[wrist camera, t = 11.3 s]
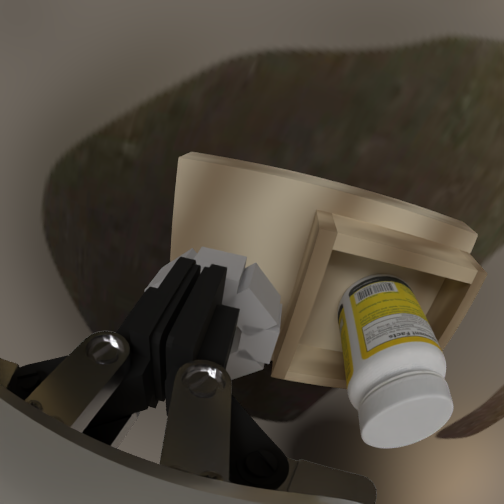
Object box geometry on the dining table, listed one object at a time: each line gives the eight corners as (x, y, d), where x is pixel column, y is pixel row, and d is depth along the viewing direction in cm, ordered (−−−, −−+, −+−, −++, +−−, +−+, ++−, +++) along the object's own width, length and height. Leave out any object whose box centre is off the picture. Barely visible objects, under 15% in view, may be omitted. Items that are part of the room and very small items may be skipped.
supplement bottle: (379, 345, 18) (402, 457, 10) (321, 318, 18) (326, 443, 10) (427, 291, 16) (481, 401, 8) (368, 256, 15) (413, 377, 8)
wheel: (293, 267, 13) (291, 293, 11) (264, 360, 16) (260, 389, 14) (159, 236, 13) (140, 257, 11) (158, 333, 16) (145, 358, 14)
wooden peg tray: (463, 222, 16) (508, 263, 11) (392, 360, 21) (405, 416, 16) (191, 151, 16) (147, 172, 11) (177, 317, 22) (149, 370, 17)
